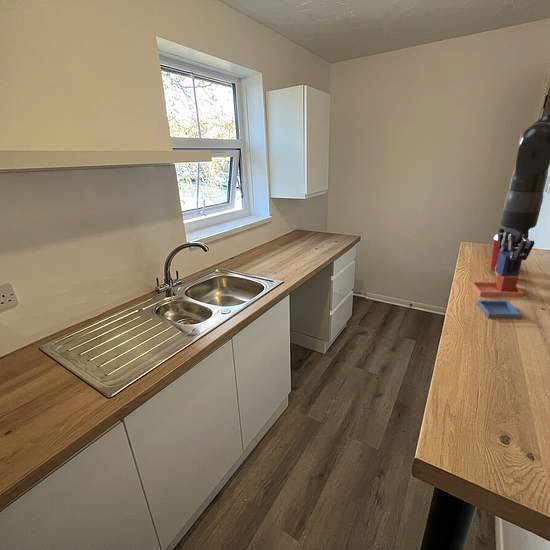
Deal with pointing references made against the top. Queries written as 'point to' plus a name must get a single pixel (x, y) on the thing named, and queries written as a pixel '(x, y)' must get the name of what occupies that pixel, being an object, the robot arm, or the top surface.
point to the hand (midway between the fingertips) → (507, 268)
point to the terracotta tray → (493, 290)
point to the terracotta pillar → (506, 283)
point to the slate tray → (498, 309)
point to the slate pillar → (505, 264)
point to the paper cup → (495, 253)
